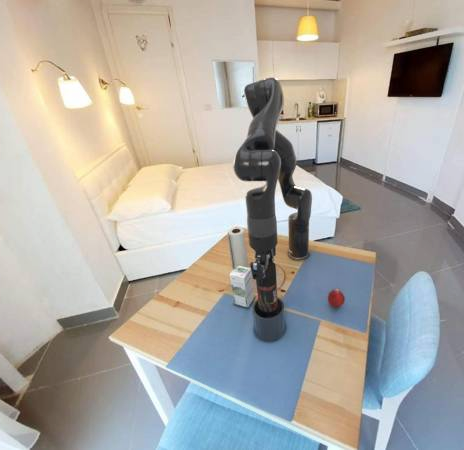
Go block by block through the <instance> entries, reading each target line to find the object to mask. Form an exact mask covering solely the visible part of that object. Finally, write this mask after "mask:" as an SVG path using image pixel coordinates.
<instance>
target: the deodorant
mask: <svg viewBox="0 0 464 450" xmlns="http://www.w3.org/2000/svg"><path fill="white" fill-rule="evenodd" d="M261 265H262V266H265V264H261ZM262 273H263V270H262ZM255 283H256V284H255V285H256V293H257V295H256V296H257V299H258V305H259V309H260V310H262V311H264V312H271V311H273V310H275V309H276V308H277V305H278V302H277V297H278V284H277V265H276V263H275V261H273V262H272V261H270V260H269V262H268V269H266V287H265V288H264V287H259V286H258V280H255Z"/></svg>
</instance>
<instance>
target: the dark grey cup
mask: <svg viewBox="0 0 464 450" xmlns="http://www.w3.org/2000/svg"><path fill="white" fill-rule="evenodd" d="M277 302H278V305H277V308H276V309H275V310H273V311H271V312H264V311H262V310H260V309H259V305H258V298H257V299H256V300H254V302H253V304H252V306H251V307H252V318H253V327H254V332H255V335H256V337H258V339H259V340H262V341H264V342H273V341H276V340H278V339H280V338H282V336H283V334H284V332H285V329H286V328H285V327H286V322H285V304H284V301H283V300H282V299H281V298H280V297H279V296H277Z"/></svg>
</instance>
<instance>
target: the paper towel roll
mask: <svg viewBox="0 0 464 450" xmlns="http://www.w3.org/2000/svg"><path fill="white" fill-rule="evenodd" d="M245 235H246V234H245V229H244V228H243V227H239V226H238V227H237V226H236V227H232V228H230V229H229V230H228V232H227V242H228V250H229V256H230V263H231V269H232V270H231V271H233V269H234V268H235V267H236V266H237V265H238V266H242V267H247V268H249V261H248V254H247V245H246V238H245Z"/></svg>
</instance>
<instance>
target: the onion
mask: <svg viewBox="0 0 464 450" xmlns="http://www.w3.org/2000/svg"><path fill="white" fill-rule="evenodd" d="M345 299H346V298H345V295H344V293H343V292H342V291H341V290H340V289H339V288H336V289H333V290H331V291H330V292H329V293H328V295H327V302H328V304H329V305H330V306H331V307H333V308H340V307H342V306H343V305H344V304H345Z"/></svg>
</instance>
